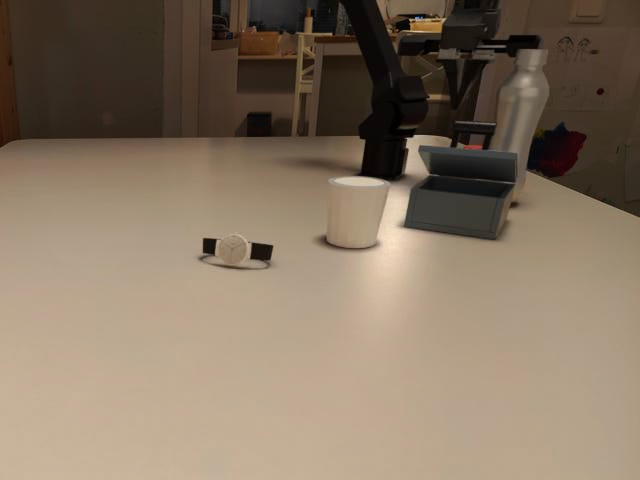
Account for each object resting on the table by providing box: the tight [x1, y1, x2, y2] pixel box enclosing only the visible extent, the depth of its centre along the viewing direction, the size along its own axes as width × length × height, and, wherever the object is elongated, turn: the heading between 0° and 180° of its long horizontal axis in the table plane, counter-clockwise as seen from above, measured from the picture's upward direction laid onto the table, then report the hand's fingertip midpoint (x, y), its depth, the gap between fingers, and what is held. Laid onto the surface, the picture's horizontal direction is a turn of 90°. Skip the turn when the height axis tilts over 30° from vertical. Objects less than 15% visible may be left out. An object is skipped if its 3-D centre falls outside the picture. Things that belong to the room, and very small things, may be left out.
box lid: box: [417, 119, 518, 183], centre depth 76 cm, size 11×11×4 cm
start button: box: [463, 144, 483, 150], centre depth 105 cm, size 4×4×2 cm
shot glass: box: [326, 175, 391, 249], centre depth 71 cm, size 7×7×7 cm
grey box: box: [403, 174, 516, 240], centre depth 79 cm, size 10×11×5 cm
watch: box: [202, 230, 274, 266], centre depth 66 cm, size 8×5×4 cm, turn 68°
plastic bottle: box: [476, 48, 550, 203], centre depth 85 cm, size 6×7×20 cm
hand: (455, 109), depth 94 cm, fingers closed
